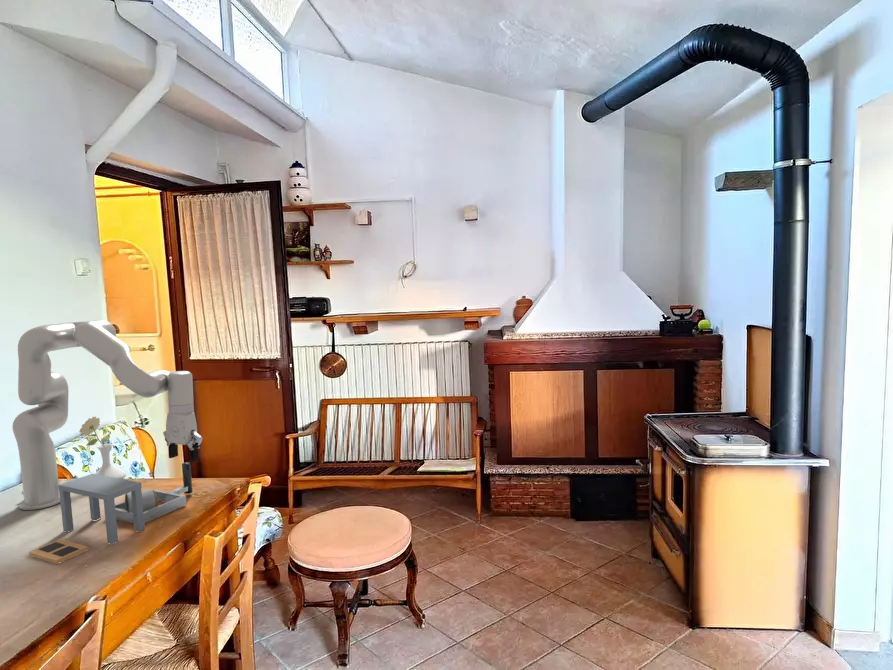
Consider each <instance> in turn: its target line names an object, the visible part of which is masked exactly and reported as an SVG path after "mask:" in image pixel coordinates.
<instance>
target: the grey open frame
mask: <svg viewBox="0 0 893 670" xmlns="http://www.w3.org/2000/svg"><path fill="white" fill-rule="evenodd" d="M181 469H182V471H181V473H182V481H183V485H182V486H179V487H176V488H173V489H172V490H169V491H165V490H160V489H153V490H154V491H155V492H156V495H157V502H163V503H162V504H159V505H158V506H157V507H154V508H152V509H150V510H147V511H145V512H143V516H144V524H146V523H149V522H151V521H153V520H155V519H157V518H160V517H162V516H164V515H166V514H169V513H171V512H173V511H176V510H178V509H180V508H182V507H185V506H187V496H186V495H188V494H192V493H193V478H192V465H191V462H189V461H186V462H185V461H184V462H183V463H181ZM183 493H184V494H183ZM115 513H116V520H117V519H118V520H117V521H121V520H122V521H121V522H125V521H126V523H130V524H133V525H134V517H133V512H132V511H127V510H126V508H125V500H124V501H120V502H118V503H115Z"/></svg>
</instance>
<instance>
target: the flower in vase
mask: <svg viewBox="0 0 893 670" xmlns="http://www.w3.org/2000/svg"><path fill="white" fill-rule="evenodd" d="M100 423H101V419H100V417H97V416H92V417H91V418H90V417H89V418H88V419H86V421H85V422H84V423H83V424H82V425H81V427H80V429H79V431H78V432H79V435H80V436H83V437H87V436H90V435H92V434H93V433H94V435H95V437H96V438H92V439H90V440H89V441H88V442H87V444H86V446H94V445H96V443H98V442H99V443H100V444H99V445H97V446H96V448H97V449H98V450H99V451H100V453H101V459H102V465H101V467H100V468H99V469H98V470H97V471H96V472H94V474H98V475H103V476H108V477H113V478H119V479H124V480H125V477H126V476H127V474H126V472H125V471H123V470H122V469H120V468H118V467H116V466H114V465H112V463H111V458H110V456H111V454H110V453H111V449H112V447H113V445H114V443H106V442H108V441H109V440H110V438H111V434H110V433H108V434H106V435H105V436H103V437H102V438H100V439H101V440H100V439H99V437H98V434H97V432H96V431H97V429H98V428H99V426H100Z"/></svg>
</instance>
